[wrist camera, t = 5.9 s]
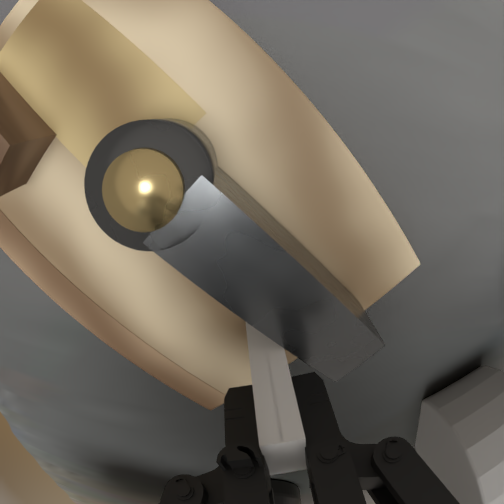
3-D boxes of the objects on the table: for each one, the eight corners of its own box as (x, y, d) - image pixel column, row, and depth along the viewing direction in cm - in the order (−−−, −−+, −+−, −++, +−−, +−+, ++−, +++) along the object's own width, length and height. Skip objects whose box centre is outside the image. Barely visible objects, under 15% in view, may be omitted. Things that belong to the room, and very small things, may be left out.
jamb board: (210, 396, 19) (209, 452, 15) (-53, 155, 10) (-102, 174, 6) (410, 254, 16) (456, 298, 11) (102, -65, 7) (69, -104, 2)
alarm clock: (457, 432, 29) (503, 532, 12) (412, 456, 30) (452, 563, 12) (487, 340, 20) (587, 493, 3) (424, 377, 21) (511, 561, 3)
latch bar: (103, 174, 11) (57, 200, 8) (164, 98, 10) (134, 90, 7) (309, 340, 16) (327, 395, 12) (367, 293, 15) (400, 342, 11)
